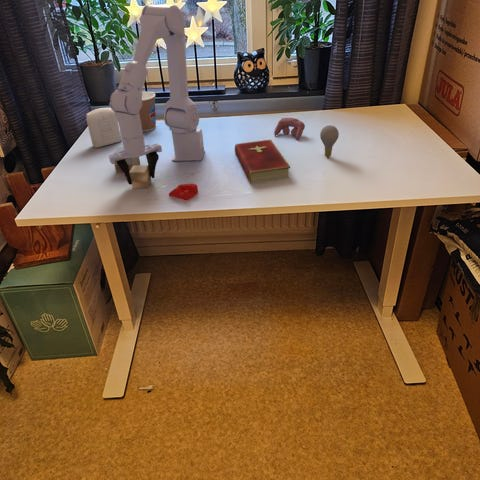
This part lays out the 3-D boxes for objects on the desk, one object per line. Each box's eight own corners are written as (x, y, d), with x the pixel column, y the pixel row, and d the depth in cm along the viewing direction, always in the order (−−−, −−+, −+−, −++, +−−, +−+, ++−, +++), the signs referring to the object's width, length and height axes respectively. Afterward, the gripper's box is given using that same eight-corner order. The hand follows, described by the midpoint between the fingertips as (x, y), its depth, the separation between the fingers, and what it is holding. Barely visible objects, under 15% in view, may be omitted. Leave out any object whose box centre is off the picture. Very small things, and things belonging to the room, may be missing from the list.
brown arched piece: (303, 141, 152) (307, 120, 150) (298, 139, 148) (302, 118, 146) (277, 136, 156) (281, 116, 155) (272, 135, 152) (276, 114, 151)
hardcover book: (249, 185, 125) (249, 171, 123) (235, 155, 142) (234, 143, 140) (290, 179, 127) (290, 165, 125) (270, 150, 144) (270, 138, 142)
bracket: (198, 194, 122) (197, 184, 121) (187, 202, 119) (186, 192, 117) (180, 189, 125) (179, 179, 124) (169, 196, 122) (167, 187, 120)
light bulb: (340, 156, 137) (342, 125, 131) (330, 162, 134) (332, 130, 128) (325, 151, 140) (327, 121, 134) (315, 157, 137) (317, 126, 131)
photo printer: (119, 138, 159) (111, 103, 152) (123, 141, 156) (116, 106, 149) (91, 145, 154) (82, 110, 147) (95, 149, 151) (86, 114, 144)
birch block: (151, 180, 130) (148, 165, 127) (147, 188, 126) (144, 172, 123) (136, 180, 130) (133, 165, 127) (132, 188, 126) (129, 172, 124)
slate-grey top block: (138, 156, 138) (137, 147, 136) (132, 164, 133) (130, 155, 131) (120, 156, 139) (118, 147, 137) (114, 164, 134) (111, 155, 132)
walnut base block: (140, 164, 140) (138, 156, 138) (135, 173, 135) (133, 164, 133) (122, 165, 140) (120, 156, 139) (116, 173, 136) (114, 164, 134)
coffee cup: (157, 132, 161) (152, 99, 154) (130, 133, 162) (123, 100, 155) (162, 122, 170) (157, 90, 163) (135, 123, 170) (129, 92, 163)
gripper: (152, 125, 125) (160, 168, 133) (102, 136, 120) (112, 181, 128) (161, 132, 120) (168, 177, 128) (108, 145, 115) (119, 191, 122)
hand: (141, 180), depth 127 cm, fingers closed on birch block, 6 cm apart
